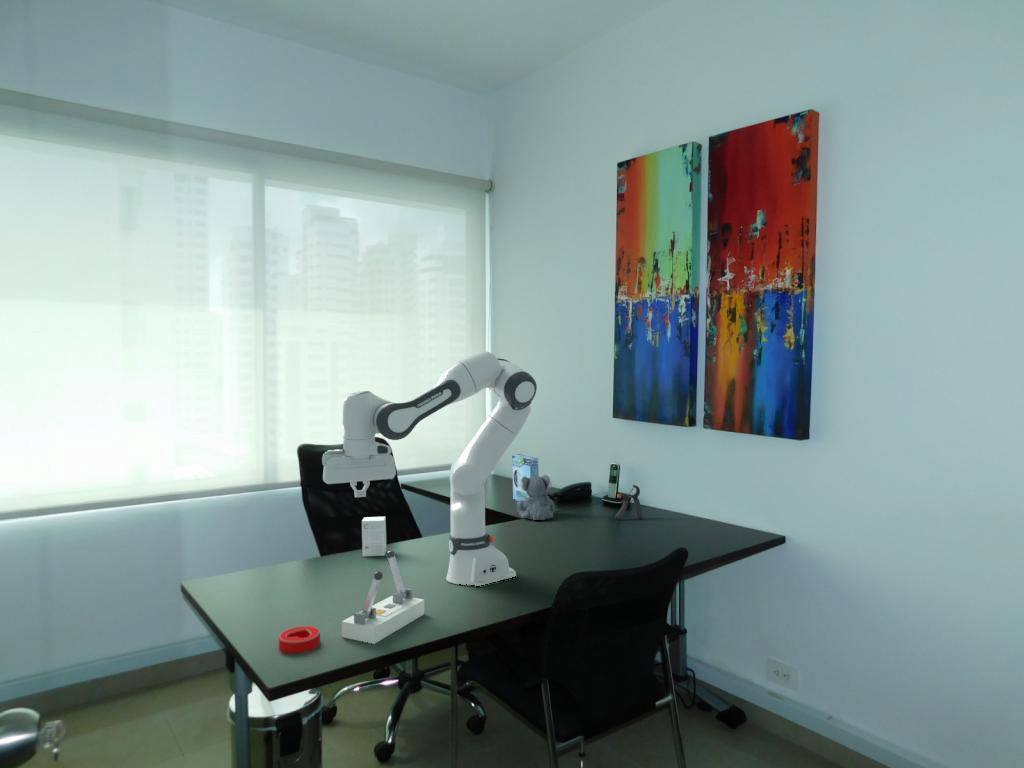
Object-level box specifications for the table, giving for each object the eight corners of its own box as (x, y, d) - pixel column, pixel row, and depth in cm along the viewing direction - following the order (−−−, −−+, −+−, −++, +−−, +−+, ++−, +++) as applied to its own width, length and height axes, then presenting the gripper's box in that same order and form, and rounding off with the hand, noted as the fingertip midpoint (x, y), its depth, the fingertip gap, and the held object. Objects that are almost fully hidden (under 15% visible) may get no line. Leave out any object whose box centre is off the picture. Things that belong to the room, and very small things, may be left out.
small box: (386, 551, 248) (386, 516, 247) (385, 556, 241) (384, 520, 241) (364, 552, 247) (363, 516, 246) (362, 557, 240) (361, 520, 240)
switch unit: (394, 608, 189) (394, 585, 189) (424, 614, 184) (424, 590, 184) (342, 637, 169) (341, 611, 169) (373, 644, 165) (373, 617, 164)
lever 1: (364, 613, 171) (380, 568, 169) (371, 618, 170) (386, 572, 168) (356, 617, 169) (372, 571, 166) (363, 622, 168) (379, 576, 165)
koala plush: (553, 512, 309) (553, 470, 309) (559, 521, 292) (558, 477, 291) (516, 513, 308) (516, 471, 308) (519, 522, 290) (518, 477, 290)
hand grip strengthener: (614, 519, 294) (613, 485, 294) (641, 518, 297) (640, 484, 296) (615, 520, 292) (615, 486, 292) (643, 519, 294) (642, 485, 294)
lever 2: (403, 597, 185) (389, 550, 187) (410, 595, 184) (395, 548, 186) (397, 601, 183) (383, 553, 184) (403, 599, 182) (389, 551, 183)
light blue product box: (539, 505, 326) (539, 458, 326) (530, 506, 324) (529, 459, 324) (521, 498, 344) (520, 453, 343) (512, 499, 342) (511, 454, 341)
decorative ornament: (321, 636, 170) (320, 624, 170) (319, 652, 161) (318, 639, 161) (281, 640, 168) (280, 628, 168) (276, 656, 159) (276, 643, 159)
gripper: (323, 452, 183) (324, 502, 184) (396, 447, 192) (397, 495, 193) (319, 449, 189) (320, 498, 190) (390, 445, 198) (391, 491, 198)
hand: (360, 496), depth 191 cm, fingers closed
